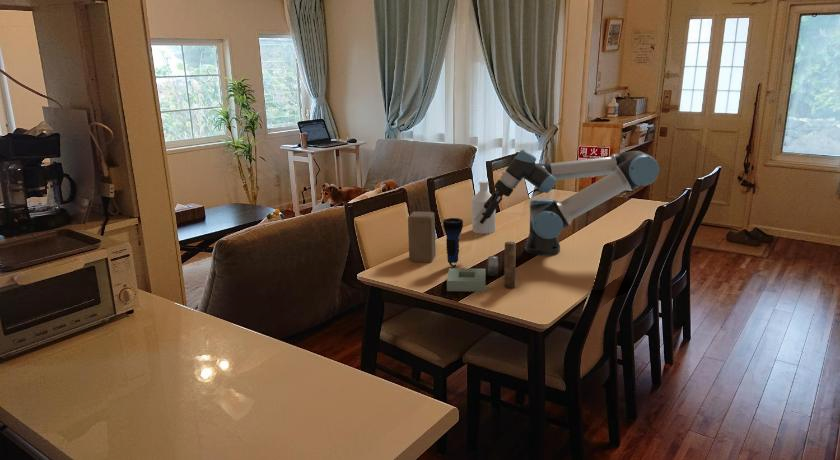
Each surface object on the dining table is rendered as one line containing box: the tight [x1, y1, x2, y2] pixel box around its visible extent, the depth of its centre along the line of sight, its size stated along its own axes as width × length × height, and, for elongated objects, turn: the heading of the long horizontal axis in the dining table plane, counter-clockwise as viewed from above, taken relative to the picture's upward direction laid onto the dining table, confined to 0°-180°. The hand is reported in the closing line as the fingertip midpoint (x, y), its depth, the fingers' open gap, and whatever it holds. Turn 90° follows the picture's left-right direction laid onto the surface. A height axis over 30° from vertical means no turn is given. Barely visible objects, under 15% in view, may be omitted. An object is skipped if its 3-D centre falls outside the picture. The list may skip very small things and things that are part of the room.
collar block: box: [446, 267, 486, 293], centre depth 223 cm, size 14×14×4 cm
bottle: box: [471, 180, 497, 235], centre depth 294 cm, size 12×12×25 cm
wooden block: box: [407, 211, 437, 263], centre depth 253 cm, size 10×10×20 cm
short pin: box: [487, 255, 499, 277], centre depth 233 cm, size 4×4×7 cm
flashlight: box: [442, 217, 464, 268], centre depth 241 cm, size 8×8×20 cm
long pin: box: [503, 241, 517, 290], centre depth 218 cm, size 4×4×17 cm
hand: (476, 224), depth 249 cm, fingers open, 13 cm apart
